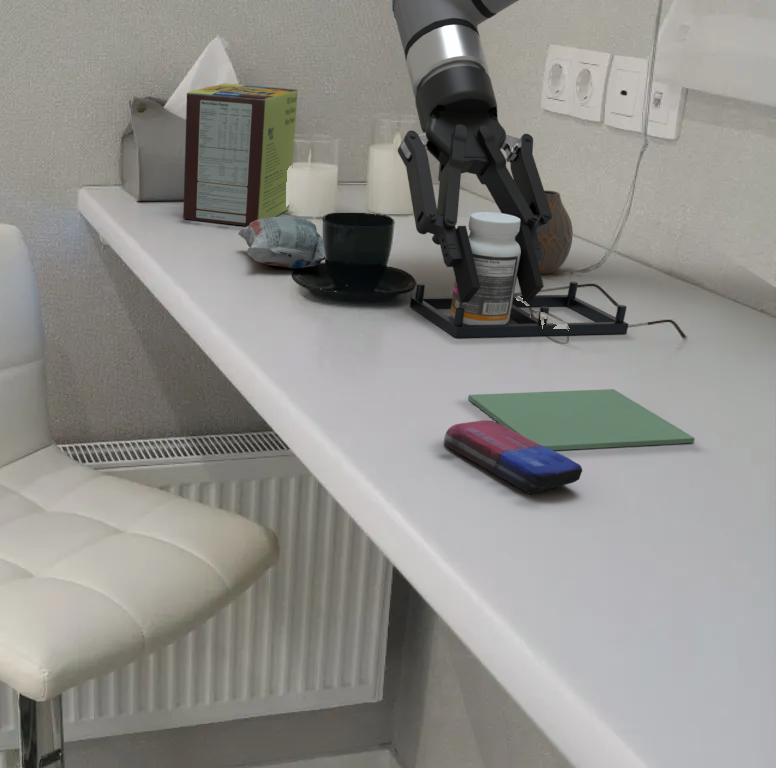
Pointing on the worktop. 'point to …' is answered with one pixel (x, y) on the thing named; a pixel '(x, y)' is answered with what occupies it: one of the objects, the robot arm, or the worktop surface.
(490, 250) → the pill bottle
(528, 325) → the black rectangular frame
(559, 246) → the vase
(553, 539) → the worktop surface
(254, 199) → the protein box
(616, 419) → the mat
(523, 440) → the eraser
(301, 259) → the packaged food
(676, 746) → the worktop surface
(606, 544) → the worktop surface
